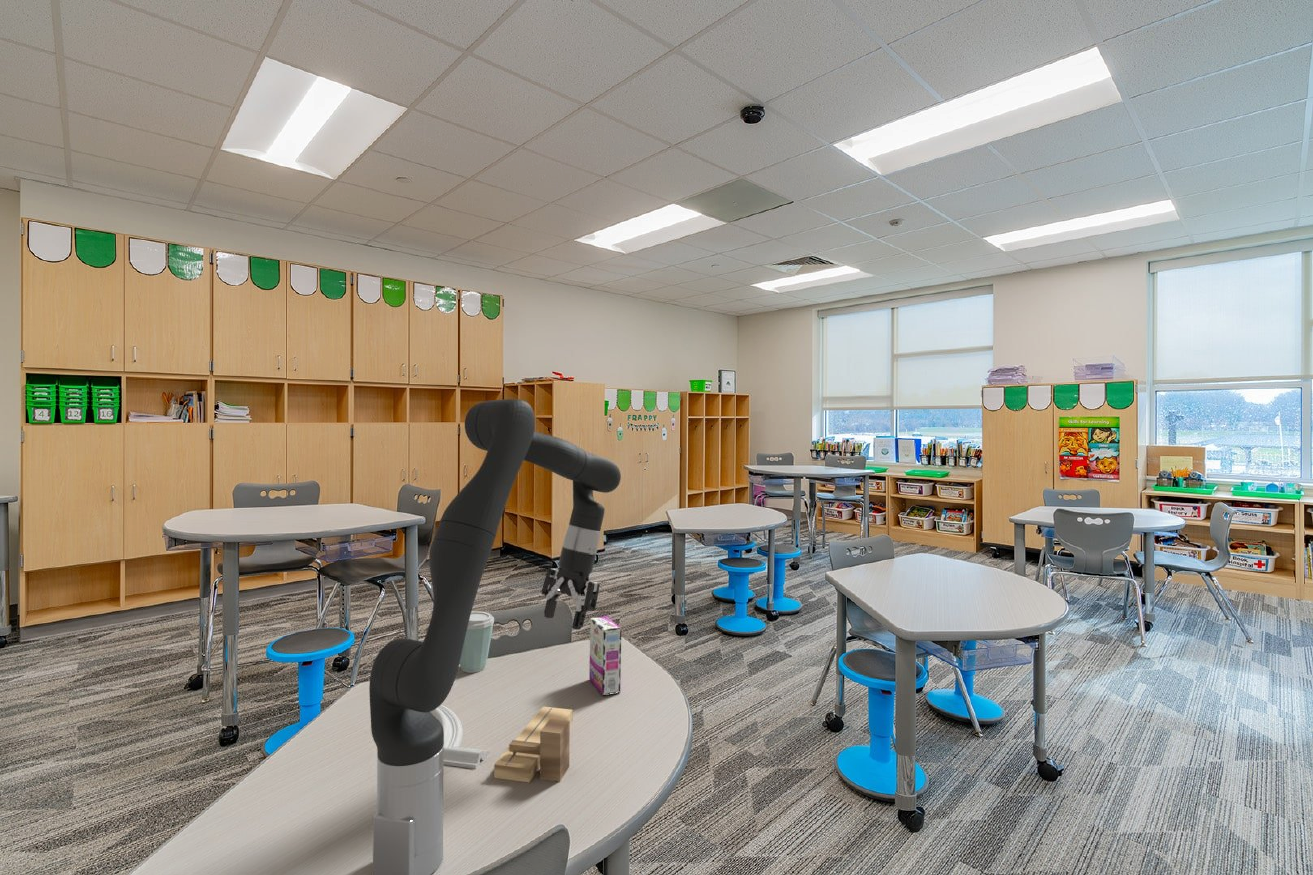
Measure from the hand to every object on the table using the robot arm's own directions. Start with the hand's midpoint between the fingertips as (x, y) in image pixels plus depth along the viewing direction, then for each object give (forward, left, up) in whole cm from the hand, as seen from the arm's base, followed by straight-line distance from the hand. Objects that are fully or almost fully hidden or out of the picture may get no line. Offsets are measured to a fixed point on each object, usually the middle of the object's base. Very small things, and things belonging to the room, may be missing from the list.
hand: (562, 623), depth 127 cm
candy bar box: (+25, -2, -24) cm, 35 cm away
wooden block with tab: (-14, 0, -24) cm, 28 cm away
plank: (-6, +3, -24) cm, 25 cm away
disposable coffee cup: (+28, +36, -24) cm, 51 cm away
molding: (-1, +26, -25) cm, 36 cm away
